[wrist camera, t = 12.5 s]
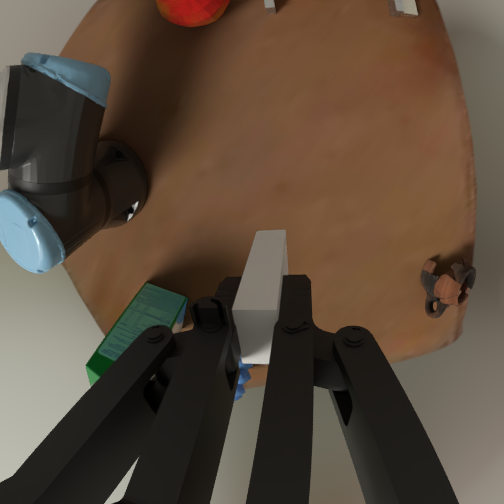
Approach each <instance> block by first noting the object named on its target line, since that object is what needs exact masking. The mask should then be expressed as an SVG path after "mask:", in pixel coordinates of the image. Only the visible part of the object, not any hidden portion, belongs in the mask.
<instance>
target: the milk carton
mask: <svg viewBox="0 0 504 504" xmlns="http://www.w3.org/2000/svg"><path fill="white" fill-rule="evenodd" d="M187 300H188V298H187V297H185V296H182V295H179V294H176V293H173V292H171V291H168V290H165V289H163V288H160V287H157V286H154V285H152V284H149V283H147V282H145V284H144V285H143V286H142V288H141V289H140V290H139V291H138V293H137V294H136V295H135V297H134V298H133V299H132V301H131V302H130V303H129V305H128V306H127V307H126V309H125V310H124V312H123V313H122V314H121V316H120V317H119V318H118V320H117V321H116V322H115V324H114V325H113V327H112V328H111V329H110V331H109V332H108V334H107V335H106V336H105V338H104V339H103V341H102V342H101V344H100V345H99V346H98V348H97V349H96V351H95V352H94V354H93V355H92V357H91V358H90V359H89V361H88V362H87V364H86V370H87V373H88V377H89V381H90V385H91V386H92V385H93V384H94V383H95V382H96V381H97V380H98V379H99V378H100V377H101V376H102V374H103V373H104V372H105V371H106V370H107V369H108V368H109V367H110V366H111V365H112V364H113V363H114V362H115V360H116V359H117V358H118V357H119V356H120V355H121V354H122V353H123V352H124V351H125V350H126V349H127V348H128V347H129V345H130V344H131V343H132V342H133V341H134V340H135V339H136V338H137V337H138V336H139V335H140V334H141V333H142V332H143V331H144V330H145V329H147V328H149V327H151V326H154V325H166V326H168V327H170V328H171V330H172V332H173V333H179V332H181V330H182V326H183V321H184V315H185V310H186V305H187ZM154 376H155V375H153V377H154ZM153 377H152V378H153ZM152 378H151V379H152ZM151 379H150V380H151ZM91 386H90V387H89V389H90V388H91Z"/></svg>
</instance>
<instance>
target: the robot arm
mask: <svg viewBox="0 0 504 504" xmlns="http://www.w3.org/2000/svg"><path fill="white" fill-rule="evenodd" d="M21 63H22V65H16V66H15V65H14V66H6V67H5V68H4V69H3V70H2V71H1V72H0V170H5V169H8V189H6V190H3V191H1V192H0V241H1V243H2V244H3V246H4V248H5V249H6V250H7V252H8V253H9V255H10V256H11V257H12V258H13V259H14V260H15V262H17V263H18V264H19V265H20V266H21V267H23V268H24V269H26V270H28V271H30V272H33V273H44V272H47V271H49V270H50V269H52V268H53V267H54V266H56V265H57V264H60V263H62V262H63V261H64V260H65V259H66V258H67V257H68V256H69V255H70V254H72V253H73V252H74V251H75V250H76V249H77V248H79V247H80V246H81V245H82V244H83V243H85V242H86V241H87V240H88V239H90V238H91V237H92V236H93V235H94V234H96V233H97V232H98V231H100V230H102V229H108V228H113V227H118V226H121V225H123V224H125V223H127V222H129V221H130V220H131V219H133V218H134V217H135V216H136V215H137V214H138V213H139V212H140V210H141V209H142V207H143V205H144V203H145V200H146V196H147V176H146V172H145V169H144V166H143V164H142V162H141V160H140V159H139V157H138V156H137V155H136V153H135V152H134V151H133V150H132V149H131V148H130V147H128V146H127V145H125V144H123V143H121V142H118V141H114V140H105V141H101V142H98V140H99V135H100V130H101V125H102V121H103V116H104V112H105V108H106V109H107V103H106V102H107V97H108V92H109V88H110V83H111V76H110V74H109V72H108V71H107V70H106V69H105V68H103V67H101V66H98V65H94V64H91V63H87V62H83V61H79V60H74V59H70V58H64V57H59V56H53V55H52V56H51V55H46V54H40V53H27V54H25V55H24V58H23V59H22V60H21ZM189 309H190V312H191V316H192V319H193V323H194V327H193V329H192V330H189V331H184V332H179V333H173V332H172V330H171V328H170V327H168V326H166V325H154V326H151V327H149V328H147V329H145V330H144V331H143V332H142V333H141V334H140V335H139V336H138V337H137V338H136V339H135V340H134V341H133V342H132V343H131V344H130V345H129V347H128V348H127V349H126V350H125V351H124V352H123V353H122V354H121V355H120V356H119V357H118V358H117V359H116V360H115V362H114V363H113V364H112V365H111V366H110V367H109V368H108V369H107V370H106V371H105V372H104V373H103V374H102V376H101V377H100V378H99V379H98V380H97V381H96V382H95V383H94V384H93V385H92V386H91V388H90V389H89V390H88V391H87V392H86V393H85V394H84V395H83V396H82V397H81V399H80V400H79V401H78V402H77V403H76V404H75V405H74V406H73V407H72V409H71V410H70V411H69V412H68V413H67V414H66V415H65V417H63V419H62V420H61V421H60V422H59V423H58V424H57V425H56V426H55V428H54V429H53V430H52V431H51V432H50V433H49V434H48V436H47V437H46V438H45V439H44V440H43V441H42V443H41V444H40V445H39V446H38V447H37V448H36V449H35V451H34V452H33V453H32V454H31V455H30V456H29V457H28V459H27V460H26V461H25V462H24V463H23V465H22V466H21V467H20V468H19V469H18V470H17V472H16V473H15V474H14V475H13V476H12V477H10V478H8V479H6V480H4V481H2V482H1V483H0V504H104V503H105V502H106V500H107V499H108V498H109V496H110V495H111V494H112V492H113V491H114V490H115V488H116V487H117V486H118V484H119V483H120V481H121V480H122V479H123V477H124V476H125V475H126V473H127V472H128V471H129V469H130V468H131V466H132V465H133V464H134V462H135V461H136V460H137V458H138V457H139V459H138V461H137V464H136V466H135V469H134V471H133V474H132V477H131V479H130V482H129V484H128V487H127V489H126V492H125V495H124V497H123V498H122V499H121V500H120V501H118V502H115V503H113V504H210V500H211V496H212V492H213V488H214V484H215V480H216V476H217V471H218V467H219V463H220V459H221V455H222V450H223V446H224V442H225V437H226V433H227V429H228V425H229V420H230V416H231V412H232V407H233V403H234V399H235V394H236V390H237V385H238V381H239V376H240V368H239V360H240V356H241V359H242V363H248V364H269V366H268V373H267V380H266V387H265V394H264V401H263V407H262V413H261V419H260V425H259V432H258V438H257V444H256V450H255V455H254V461H253V467H252V473H251V478H250V484H249V489H248V494H247V500H246V504H309V491H310V476H311V458H312V457H311V456H312V435H313V387H314V386H317V387H321V388H325V389H329V393H330V396H331V399H332V402H333V405H334V407H335V411H336V414H337V416H338V419H339V422H340V425H341V428H342V431H343V434H344V437H345V440H346V443H347V446H348V449H349V452H350V455H351V458H352V461H353V464H354V467H355V470H356V473H357V476H358V480H359V483H360V485H361V489H362V492H363V495H364V499H365V502H366V504H459V503H458V500H457V498H456V496H455V493H454V491H453V489H452V486H451V484H450V482H449V480H448V477H447V475H446V473H445V471H444V469H443V467H442V465H441V462H440V460H439V458H438V456H437V454H436V452H435V450H434V448H433V446H432V443H431V442H430V439H429V438H428V435H427V434H426V431H425V430H424V427H423V425H422V424H421V422H420V420H419V418H418V416H417V414H416V412H415V410H414V408H413V406H412V404H411V403H410V401H409V399H408V397H407V395H406V393H405V391H404V389H403V388H402V386H401V384H400V382H399V380H398V379H397V377H396V375H395V373H394V371H393V370H392V368H391V366H390V364H389V363H388V361H387V359H386V357H385V356H384V354H383V352H382V350H381V349H380V347H379V345H378V343H377V342H376V340H375V338H374V337H373V335H372V334H371V333H370V332H369V331H368V330H367V329H365V328H363V327H360V326H346V327H344V328H341V329H340V330H338V331H337V332H336V334H335V333H330V332H326V331H323V330H321V329H319V328H318V327H317V326H316V325H315V324H314V322H313V319H312V298H311V281H310V279H309V278H308V277H307V276H306V275H288V262H287V246H286V231H285V230H264V231H257V232H256V235H255V238H254V241H253V244H252V248H251V251H250V254H249V257H248V260H247V263H246V266H245V270H244V273H243V276H242V277H226V278H225V279H224V280H223V281H222V282H221V283H220V284H219V286H218V289H217V292H216V294H215V296H214V297H213V296H211V297H204V298H201V299H198V300H196V301H195V302H193V303H192V304H191V305H190V307H189ZM153 375H155V376H154V377H153ZM152 377H153V378H152ZM151 378H152V379H151ZM150 379H151V380H150Z"/></svg>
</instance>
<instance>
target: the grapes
mask: <svg viewBox="0 0 504 504" xmlns="http://www.w3.org/2000/svg"><path fill="white" fill-rule="evenodd" d="M252 366H253V365H252V364H248V363H242V359H241V356H240V360H239V368H240V376H239V381H238V385H237V390H236V394H235V399H234V401H235V400H238V399H240V398H241V397H242V394H243V393H245V390H244V388H243V384H245V383H246V382H247V381H248V380H250V379H251V376H250V374H249V372H248V369H249V368H251V367H252Z"/></svg>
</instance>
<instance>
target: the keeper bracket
mask: <svg viewBox="0 0 504 504" xmlns="http://www.w3.org/2000/svg"><path fill="white" fill-rule="evenodd" d="M387 1H388V6H389V11H390V15H391V16H395V17H399V16H406V17H412V18H415V17H416V16H418V12H417V8H416V3H415V0H387ZM264 2H265V8H266V11H267V14H276V9H275V3H274V0H264Z"/></svg>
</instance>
